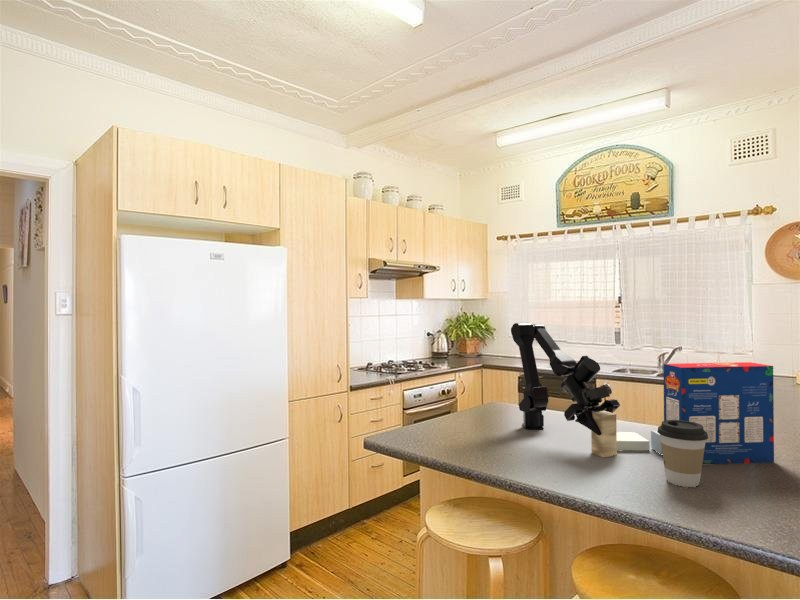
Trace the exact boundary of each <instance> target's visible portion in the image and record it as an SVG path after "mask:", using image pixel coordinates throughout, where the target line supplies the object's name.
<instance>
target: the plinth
mask: <svg viewBox="0 0 800 600" xmlns="http://www.w3.org/2000/svg"><path fill="white" fill-rule="evenodd" d="M616 438H617V450H650V449H651V440H648V439H646V438H645V437H644V436H642V435H640V434H638V433H636V432H635V431H632V432H631V431H630V432H629V431H616Z"/></svg>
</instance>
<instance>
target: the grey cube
mask: <svg viewBox="0 0 800 600" xmlns="http://www.w3.org/2000/svg"><path fill="white" fill-rule="evenodd" d="M651 448H652V449H654V450H655V451H657V452H659V453H660V454H663V453H662V447H661V440H660V434H659V433H658V432H657V430H650V449H651ZM652 449H651V450H652ZM655 451H654V452H655ZM657 452H656V453H657ZM660 454H659V455H660Z"/></svg>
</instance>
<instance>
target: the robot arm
mask: <svg viewBox="0 0 800 600" xmlns="http://www.w3.org/2000/svg"><path fill="white" fill-rule="evenodd" d="M546 329H547V328H546V327H545V325H544V324H542V323H541V324H540V323H538V324H537V323H534V324H532V323H531V322H516V323H513V324H512V326H511V328H510V333H511V336H512V340H513V342H514V343H515V344H516V345H517V346H518V349H519V353H520V360H521V363H522V364H521V366H522V369H523V375H524V380H525V387H524V389H523V399H522V400H521V401H520V403H519V404H518V408H519V411H521V412H523V414H522V415H523V416H522V417H523V418H522V419H523V420H522V421H523V423H522V426H523V428H524V429H526V430H544V429H545V428H544V426H545V425H544V424H545V422H544V420H545V418H544V417H545V415H543V412H545V411H546V410H547V407H548V404H549V398H550V395H549V394H548V388H547V386H544V385H542V383H541V381H540V377H539V371H538V368H537V367H538V366H537V363H536V356H535V353H534V347H533V343H534V341H536V343H538V344H539V347H540V348H541V349H542V350H543V352H544V353H545V355H546V356H547V358H548V359H549V366H550V368H551V370H552V372H553V373H554V375H555V376H557V377H565V378H564V379H561V383H560V388H567V389H568V391H569V392H570V395H571V396H572V398H571V401H572V402H573V403H571V404H570V405H569V406H568V407H567V408H566V410H565V411H564V413H563V414H564V418H565V420H566V421H567V422H570V421H571V422H572V421H575V423H579V424H580V425H582V426H583V427H585V428H587V429H589V430H590V431H593V432H594V433H596V434H597V435H601V431H600V429H599V427H598V426H597V424H596V422H595V420H594V419H593V417H592V412H599V411H607V412H611V413H615V411H616V410H617V409H619V408H620V407H621V404H620V402H619V401H618V400H617V399H615V398H612V399H605V398H610V397H611V394H612V393H613V390H612V388H611V387H610V386H609V384H608V383H607V384H605V383H604V384H603V385H600V386H598V387H597V386H596V387H594V388H593V387H589V386H588V384H587V383H590V382H591V381H592V380H593V378H595V377H596V375H597V374H598V373H599V372H600V371H601V366H600V364H599V362H597V361H596V360H594V359H592V358H590V357H589V356H588V355H582V356H581V357H580V359H579V360H578V361H577V362H576V360H575V359H574V358H573V357H572V356H571V355H569V354H567V353H566V352H564V351H563V350H561V348H560V346H559V345H558V344H557V343H556V342H555V340H554V339H553V338H552V336H551V335H550V334H549V332H548V331H547V330H546ZM603 399H605V400H603ZM575 402H576V403H575Z"/></svg>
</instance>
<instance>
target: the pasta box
mask: <svg viewBox="0 0 800 600" xmlns="http://www.w3.org/2000/svg"><path fill="white" fill-rule="evenodd" d="M774 398H775V397H774V366H773V365H770V364H763V363H757V362H756V363H755V362H751V361H750V362H749V361H748V362H746V361H745V362H744V361H743V362H742V361H741V362H698V363H697V362H695V363H694V362H693V363H689V362H688V363H685V362H684V363H663V421H665V420H683V421H690V422H694V423H698V424H700V425H702V426H703V429H704V431H706V432H707V434H708V439H707V440H706V442H705V449H704V456H703V463H702V464H713V465H735V464H738V465H739V464H760V463H761V464H762V463H765V464H766V463H767V464H768V463H775V430H774V429H775V425H774V424H775V421H774V420H775V418H774V417H775V413H774V410H775V408H774V407H775V406H774V402H775V401H774Z"/></svg>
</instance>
